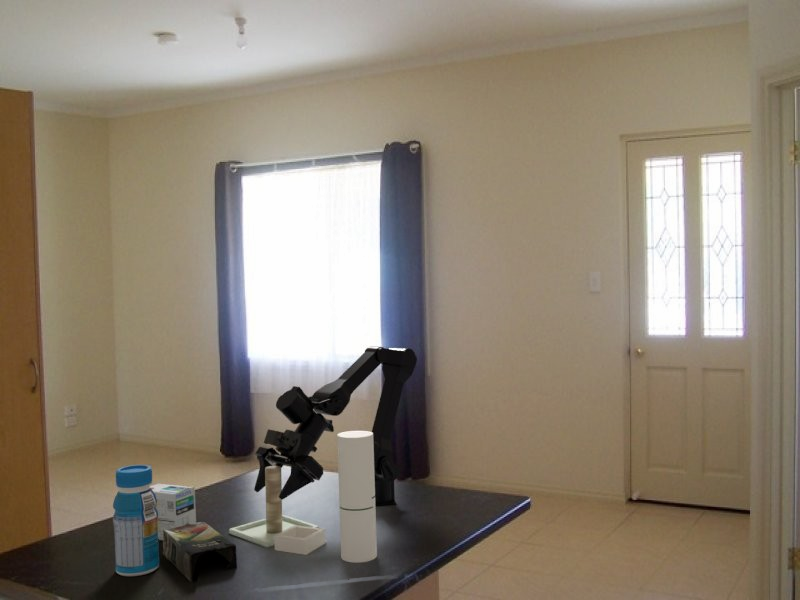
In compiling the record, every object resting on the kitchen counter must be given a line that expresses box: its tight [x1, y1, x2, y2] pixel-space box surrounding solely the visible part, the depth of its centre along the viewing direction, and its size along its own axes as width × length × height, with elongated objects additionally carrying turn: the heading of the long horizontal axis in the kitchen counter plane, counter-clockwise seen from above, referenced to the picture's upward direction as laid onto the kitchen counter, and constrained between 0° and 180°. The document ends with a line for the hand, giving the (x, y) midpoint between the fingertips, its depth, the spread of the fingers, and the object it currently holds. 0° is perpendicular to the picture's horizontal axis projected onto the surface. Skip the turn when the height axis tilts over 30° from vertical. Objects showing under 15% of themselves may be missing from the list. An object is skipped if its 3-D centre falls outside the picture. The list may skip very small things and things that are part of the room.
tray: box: [228, 514, 320, 548], centre depth 173 cm, size 14×14×2 cm
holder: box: [274, 525, 327, 556], centre depth 164 cm, size 8×8×4 cm
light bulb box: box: [149, 483, 197, 541], centre depth 175 cm, size 11×7×11 cm, turn 65°
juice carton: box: [162, 521, 238, 583], centre depth 158 cm, size 20×10×6 cm, turn 33°
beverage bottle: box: [112, 464, 160, 577], centre depth 154 cm, size 8×8×20 cm
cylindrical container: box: [336, 430, 378, 563], centre depth 156 cm, size 7×7×25 cm
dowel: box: [264, 466, 283, 534], centre depth 173 cm, size 4×4×14 cm
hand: (267, 494), depth 172 cm, fingers open, 9 cm apart
